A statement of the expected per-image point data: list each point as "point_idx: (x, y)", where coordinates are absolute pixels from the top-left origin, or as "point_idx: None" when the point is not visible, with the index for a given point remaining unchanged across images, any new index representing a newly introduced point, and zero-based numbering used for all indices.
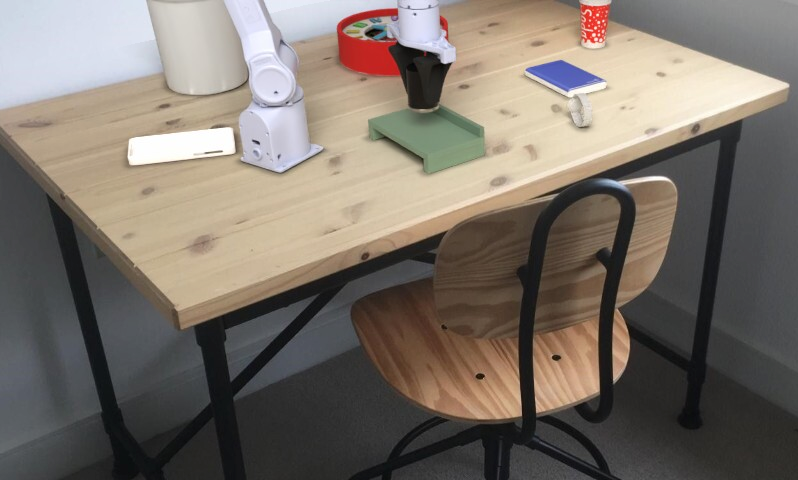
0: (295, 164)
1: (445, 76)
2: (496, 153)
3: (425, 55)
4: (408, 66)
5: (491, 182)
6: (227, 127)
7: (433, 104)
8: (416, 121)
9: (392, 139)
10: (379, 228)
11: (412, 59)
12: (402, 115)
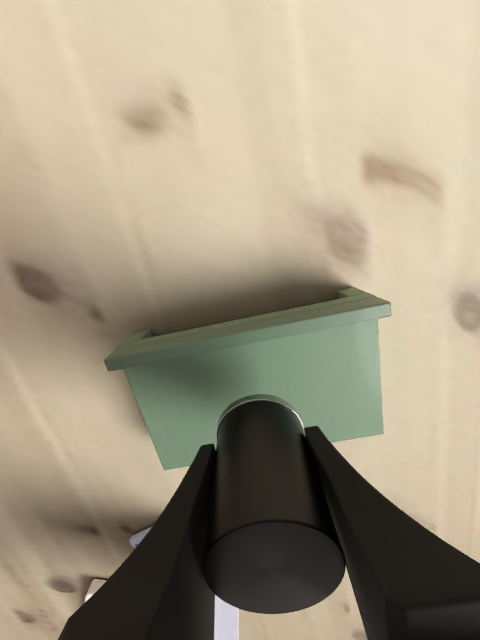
0: None
1: (382, 495)
2: (358, 258)
3: None
4: (239, 603)
5: (462, 325)
6: (85, 598)
7: (303, 431)
8: (215, 397)
9: None
10: (468, 510)
11: (197, 600)
12: (170, 411)
